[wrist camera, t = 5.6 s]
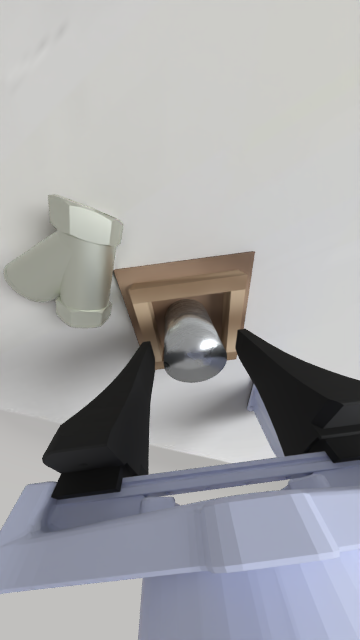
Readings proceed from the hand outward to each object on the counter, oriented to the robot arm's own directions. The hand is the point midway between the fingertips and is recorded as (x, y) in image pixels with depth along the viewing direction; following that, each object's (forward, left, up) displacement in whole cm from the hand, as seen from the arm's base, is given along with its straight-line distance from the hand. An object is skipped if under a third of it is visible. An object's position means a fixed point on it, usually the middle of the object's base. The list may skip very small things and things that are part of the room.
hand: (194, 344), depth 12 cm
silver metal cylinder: (0, 0, -4) cm, 4 cm away
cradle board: (0, 0, -5) cm, 5 cm away
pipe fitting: (+7, +9, -5) cm, 12 cm away
